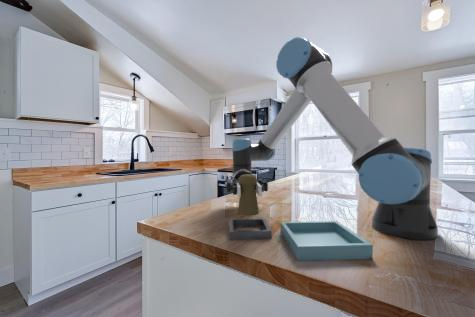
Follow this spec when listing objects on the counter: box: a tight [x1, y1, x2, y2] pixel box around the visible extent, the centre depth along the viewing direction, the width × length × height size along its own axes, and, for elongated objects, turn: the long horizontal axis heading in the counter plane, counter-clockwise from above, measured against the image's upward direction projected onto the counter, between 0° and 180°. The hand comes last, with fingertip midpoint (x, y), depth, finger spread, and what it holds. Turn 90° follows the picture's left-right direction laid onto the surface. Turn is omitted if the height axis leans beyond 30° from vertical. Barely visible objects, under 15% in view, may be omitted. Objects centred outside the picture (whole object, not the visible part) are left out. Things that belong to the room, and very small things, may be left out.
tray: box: [280, 220, 374, 262], centre depth 55 cm, size 16×16×3 cm
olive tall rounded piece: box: [237, 173, 260, 217], centre depth 64 cm, size 6×6×11 cm
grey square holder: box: [229, 217, 273, 241], centre depth 64 cm, size 11×11×2 cm
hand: (249, 191), depth 59 cm, fingers closed on olive tall rounded piece, 5 cm apart
